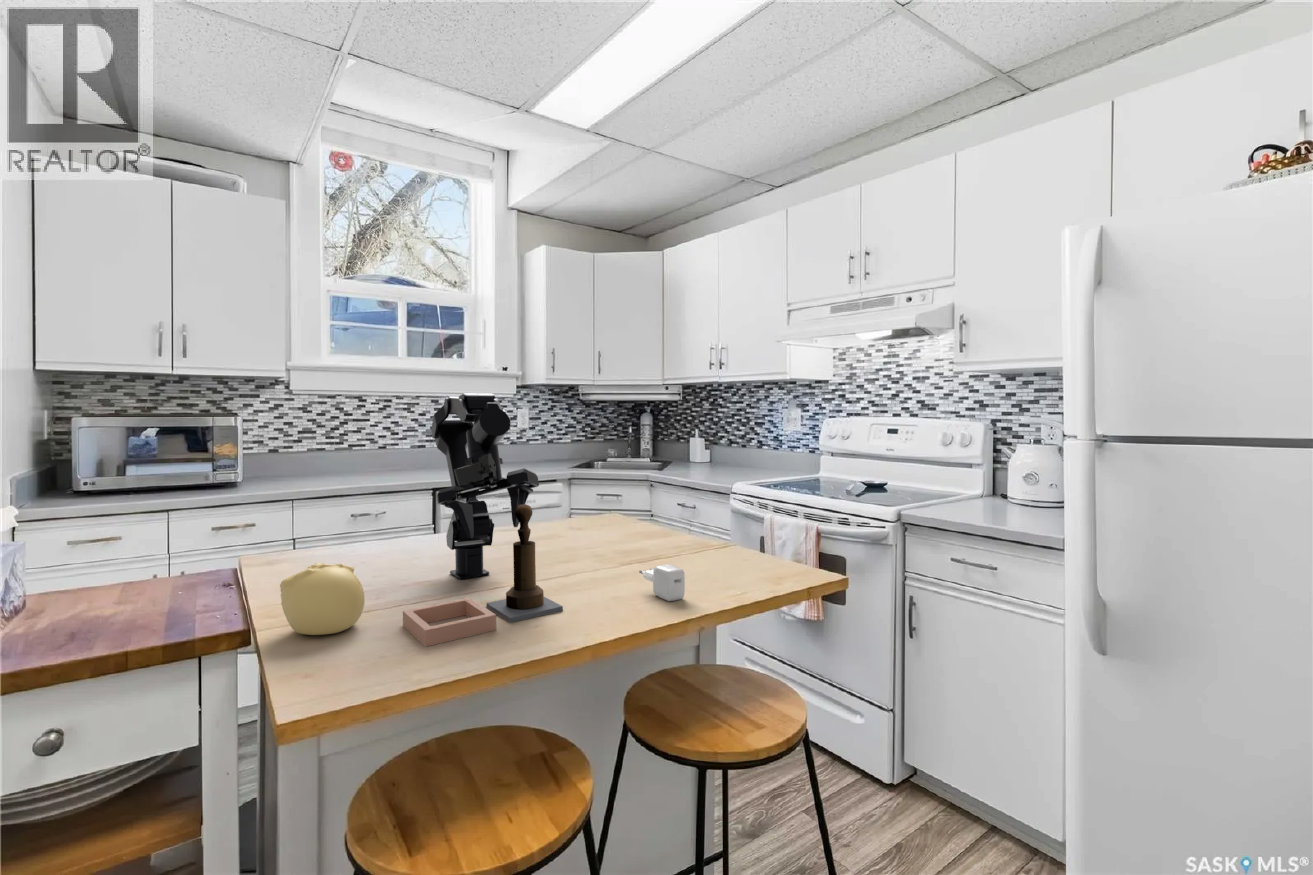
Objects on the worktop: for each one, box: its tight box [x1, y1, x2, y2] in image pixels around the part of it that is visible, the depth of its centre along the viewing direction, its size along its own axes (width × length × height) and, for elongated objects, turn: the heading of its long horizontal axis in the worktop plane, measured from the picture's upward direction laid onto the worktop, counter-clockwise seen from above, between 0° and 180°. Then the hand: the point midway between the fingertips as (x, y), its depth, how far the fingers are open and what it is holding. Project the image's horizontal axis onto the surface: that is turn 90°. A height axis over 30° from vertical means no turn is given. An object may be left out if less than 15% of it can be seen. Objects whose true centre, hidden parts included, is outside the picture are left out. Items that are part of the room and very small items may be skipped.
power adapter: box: [638, 563, 686, 602], centre depth 122 cm, size 11×5×6 cm, turn 33°
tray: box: [402, 597, 497, 647], centre depth 104 cm, size 11×11×2 cm
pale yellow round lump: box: [279, 562, 366, 636], centre depth 103 cm, size 11×12×11 cm
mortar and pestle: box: [505, 503, 545, 609], centre depth 113 cm, size 7×6×18 cm
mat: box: [485, 596, 564, 623], centre depth 113 cm, size 10×10×1 cm
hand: (493, 532), depth 119 cm, fingers open, 9 cm apart
